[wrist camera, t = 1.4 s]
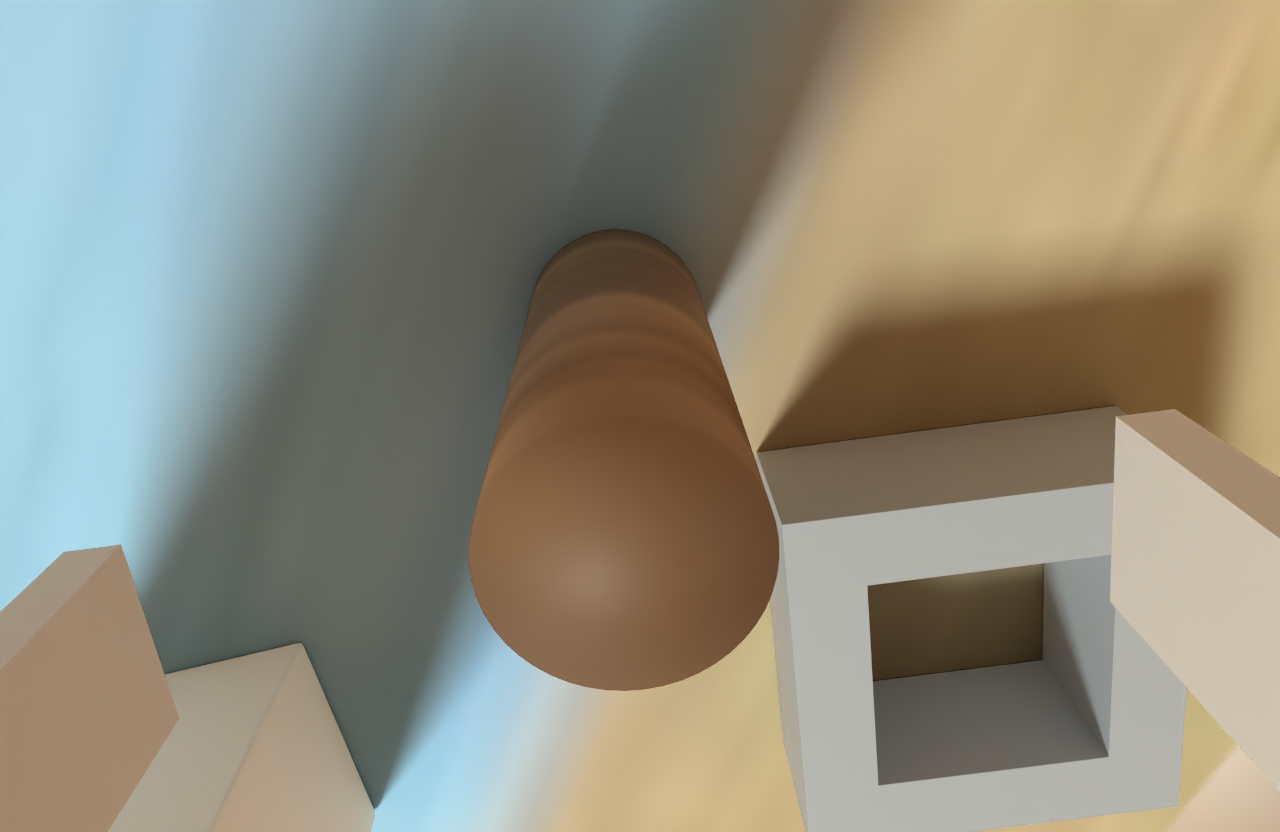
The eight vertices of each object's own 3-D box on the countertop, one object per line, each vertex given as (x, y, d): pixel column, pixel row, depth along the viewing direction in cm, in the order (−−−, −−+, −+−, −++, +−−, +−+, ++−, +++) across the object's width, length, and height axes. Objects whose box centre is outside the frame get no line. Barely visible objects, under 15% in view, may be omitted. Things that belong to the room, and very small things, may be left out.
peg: (518, 241, 24) (441, 438, 13) (690, 219, 24) (765, 395, 13) (545, 403, 25) (498, 707, 14) (708, 382, 25) (790, 670, 14)
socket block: (756, 452, 26) (781, 525, 22) (1116, 405, 26) (1203, 471, 22) (784, 745, 29) (810, 851, 25) (1104, 705, 29) (1178, 806, 25)
